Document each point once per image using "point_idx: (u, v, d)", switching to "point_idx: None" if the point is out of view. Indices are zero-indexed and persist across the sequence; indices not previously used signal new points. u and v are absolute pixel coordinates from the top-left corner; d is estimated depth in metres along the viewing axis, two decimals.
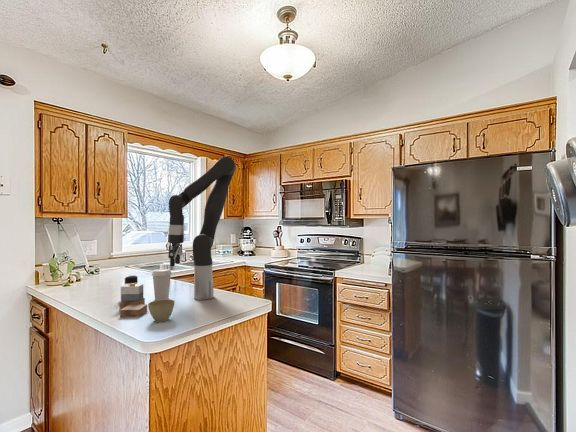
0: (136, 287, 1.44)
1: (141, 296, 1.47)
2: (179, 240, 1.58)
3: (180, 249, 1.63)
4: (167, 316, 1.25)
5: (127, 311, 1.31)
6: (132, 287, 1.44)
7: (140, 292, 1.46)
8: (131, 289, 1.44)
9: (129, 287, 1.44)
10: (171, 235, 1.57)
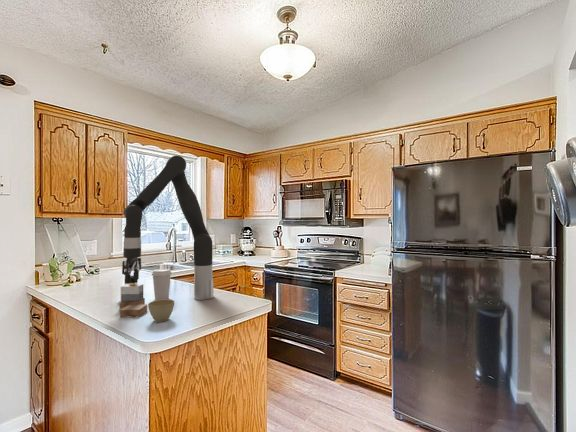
0: (136, 287, 1.44)
1: (141, 296, 1.47)
2: (135, 254, 1.44)
3: (138, 264, 1.50)
4: (167, 316, 1.25)
5: (127, 311, 1.31)
6: (132, 287, 1.44)
7: (140, 292, 1.46)
8: (131, 289, 1.44)
9: (129, 287, 1.44)
10: (126, 249, 1.43)
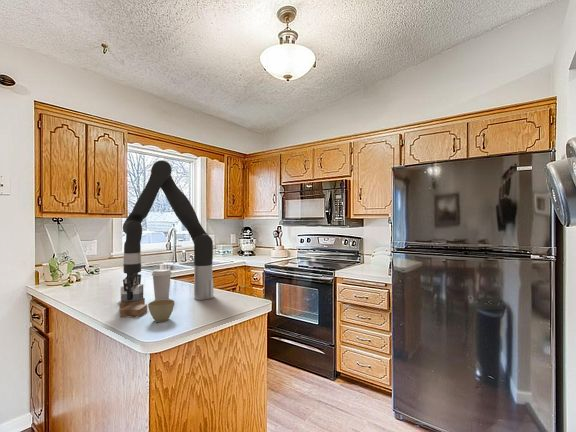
0: (136, 287, 1.44)
1: (141, 296, 1.47)
2: (135, 269, 1.44)
3: (138, 279, 1.49)
4: (167, 316, 1.25)
5: (127, 311, 1.31)
6: None
7: (140, 292, 1.46)
8: None
9: None
10: (126, 265, 1.43)
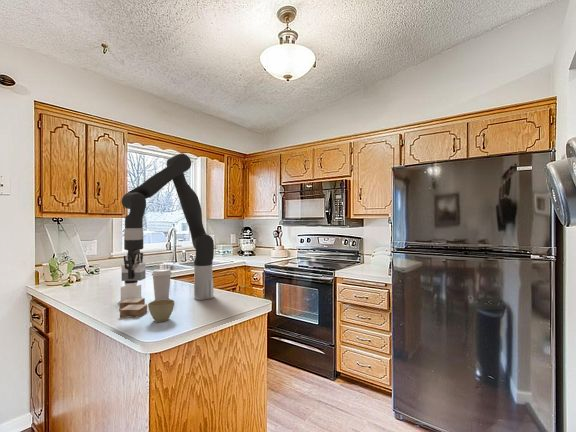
0: (138, 265, 1.33)
1: (143, 275, 1.36)
2: (137, 246, 1.33)
3: (140, 257, 1.37)
4: (167, 316, 1.25)
5: (127, 311, 1.31)
6: None
7: (142, 271, 1.35)
8: None
9: None
10: (127, 241, 1.32)
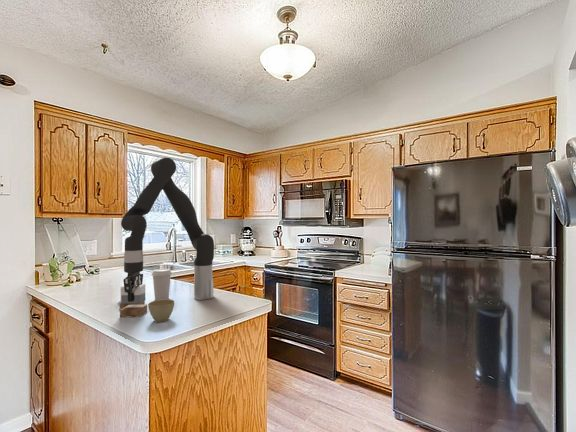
0: (137, 287, 1.33)
1: (143, 297, 1.36)
2: (137, 268, 1.33)
3: (139, 279, 1.37)
4: (167, 316, 1.25)
5: (127, 311, 1.31)
6: None
7: (142, 293, 1.35)
8: None
9: None
10: (127, 264, 1.32)
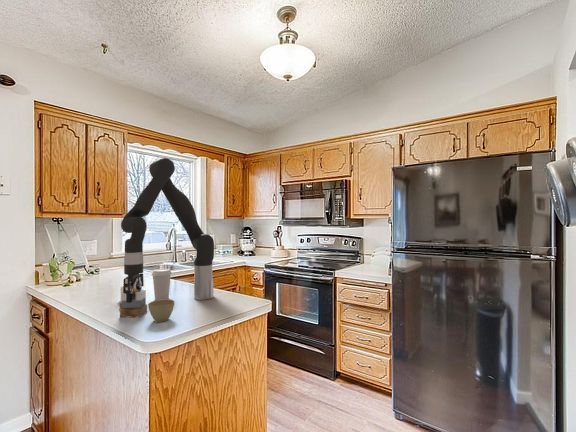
0: (138, 293, 1.33)
1: (143, 303, 1.36)
2: (137, 270, 1.33)
3: (140, 280, 1.38)
4: (167, 316, 1.25)
5: (127, 311, 1.31)
6: (134, 293, 1.33)
7: (142, 298, 1.35)
8: (132, 295, 1.33)
9: None
10: (127, 266, 1.31)
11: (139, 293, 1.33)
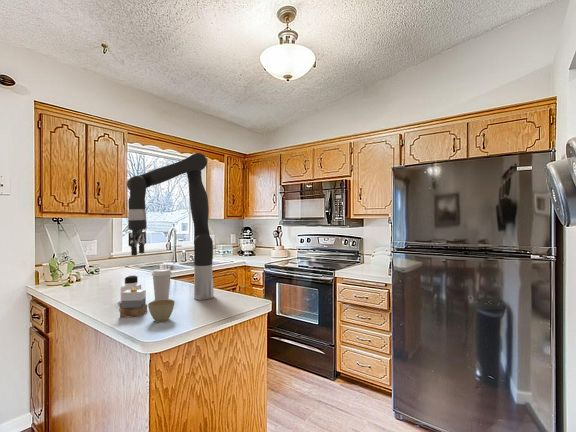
0: (138, 293, 1.33)
1: (143, 303, 1.36)
2: (141, 226, 1.41)
3: (143, 236, 1.46)
4: (167, 316, 1.25)
5: (127, 311, 1.31)
6: (134, 293, 1.33)
7: (142, 298, 1.35)
8: (132, 295, 1.33)
9: (130, 293, 1.33)
10: (131, 221, 1.40)
11: (139, 293, 1.33)
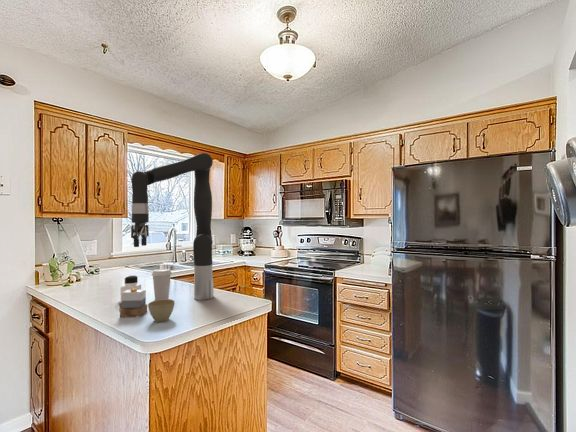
0: (138, 293, 1.33)
1: (143, 303, 1.36)
2: (143, 219, 1.49)
3: (146, 229, 1.54)
4: (167, 316, 1.25)
5: (127, 311, 1.31)
6: (134, 293, 1.33)
7: (142, 298, 1.35)
8: (132, 295, 1.33)
9: (130, 293, 1.33)
10: (134, 214, 1.48)
11: (139, 293, 1.33)
